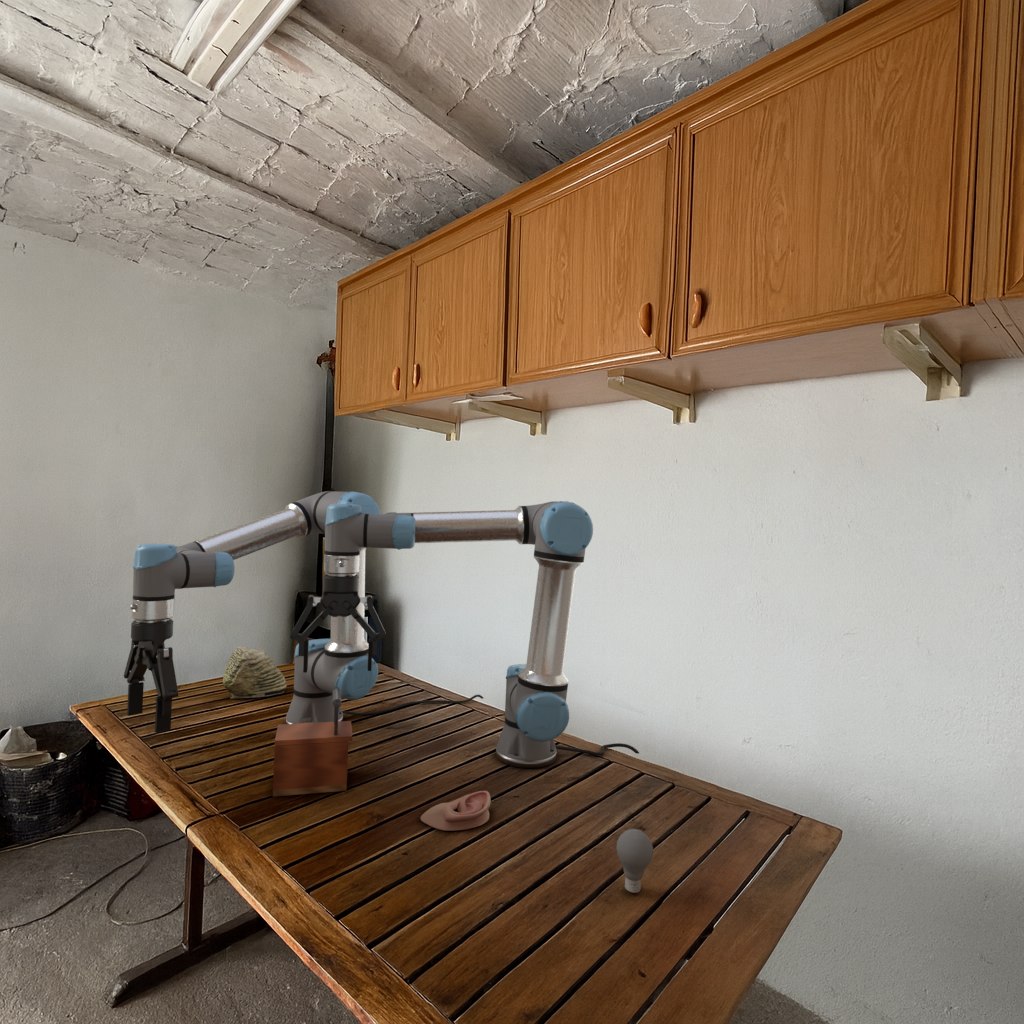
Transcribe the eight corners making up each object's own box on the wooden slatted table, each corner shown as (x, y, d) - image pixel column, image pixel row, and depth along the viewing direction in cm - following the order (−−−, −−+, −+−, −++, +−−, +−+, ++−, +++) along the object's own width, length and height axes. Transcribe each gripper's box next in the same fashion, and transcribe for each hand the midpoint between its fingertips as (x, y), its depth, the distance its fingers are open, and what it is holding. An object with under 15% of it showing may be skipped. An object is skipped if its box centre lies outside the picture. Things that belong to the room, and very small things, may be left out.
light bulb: (610, 879, 108) (613, 822, 108) (644, 879, 109) (647, 822, 109) (619, 902, 102) (622, 840, 102) (655, 901, 103) (658, 840, 103)
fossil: (218, 695, 195) (220, 647, 195) (278, 685, 208) (279, 640, 207) (228, 703, 189) (230, 653, 188) (289, 692, 201) (290, 645, 201)
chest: (345, 771, 146) (347, 725, 146) (346, 790, 137) (348, 741, 137) (276, 776, 142) (278, 729, 142) (272, 796, 133) (274, 746, 133)
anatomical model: (415, 806, 123) (434, 781, 134) (414, 826, 123) (433, 799, 134) (481, 816, 120) (495, 789, 132) (480, 836, 120) (494, 808, 132)
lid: (350, 725, 146) (352, 686, 146) (352, 741, 137) (353, 699, 137) (278, 729, 142) (279, 689, 142) (274, 746, 133) (276, 703, 133)
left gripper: (109, 612, 135) (104, 711, 135) (159, 631, 119) (154, 743, 119) (146, 608, 141) (142, 704, 141) (199, 626, 125) (195, 733, 125)
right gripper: (279, 575, 132) (275, 676, 133) (400, 576, 138) (396, 673, 139) (283, 571, 140) (279, 666, 140) (397, 572, 146) (394, 664, 146)
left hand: (148, 722), depth 130 cm, fingers open, 13 cm apart
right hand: (337, 670), depth 139 cm, fingers open, 13 cm apart
